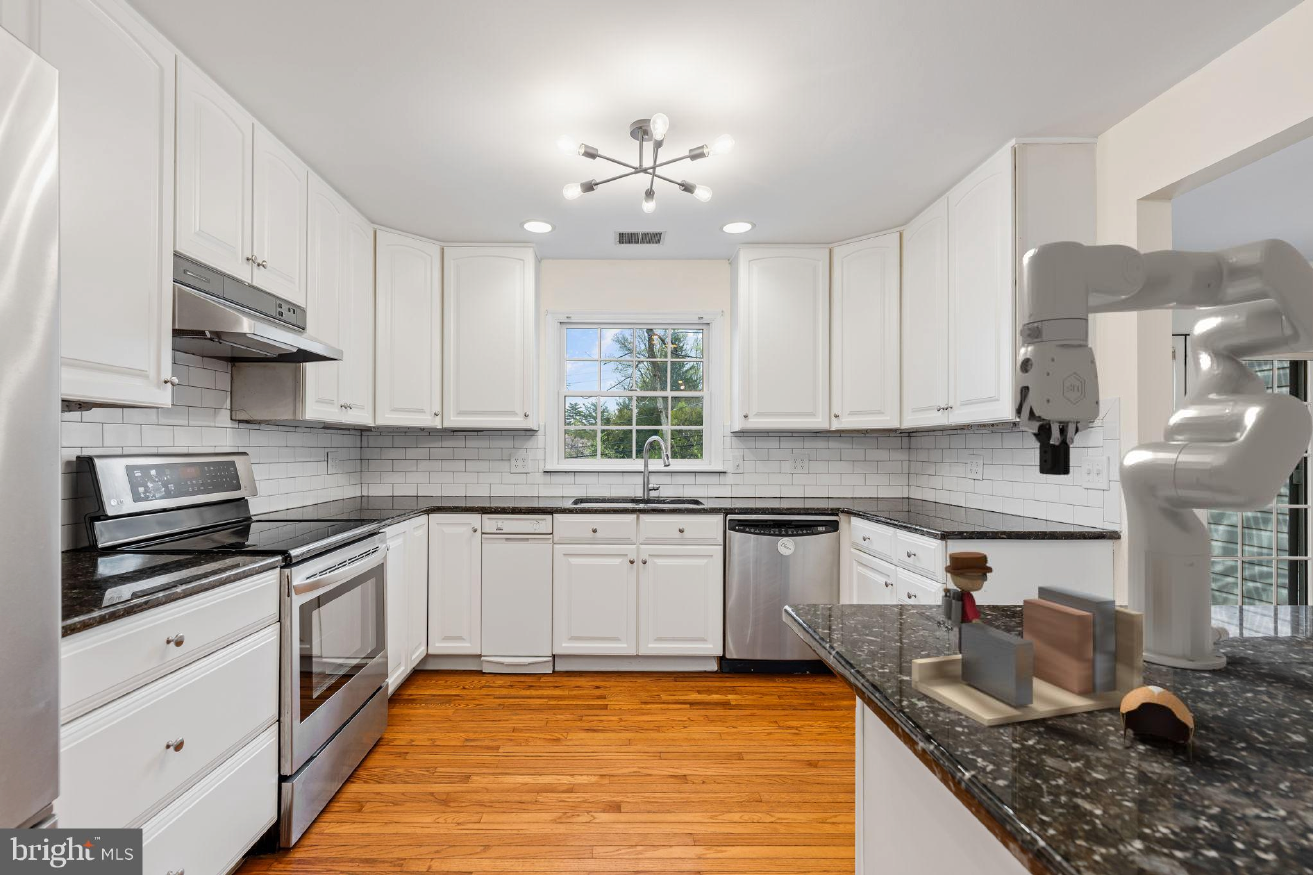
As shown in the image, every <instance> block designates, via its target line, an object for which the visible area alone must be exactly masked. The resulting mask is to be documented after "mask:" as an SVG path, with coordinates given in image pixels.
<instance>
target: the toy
mask: <svg viewBox="0 0 1313 875" xmlns="http://www.w3.org/2000/svg"><path fill="white" fill-rule="evenodd" d="M948 562H949V563H948V565H946V566H945V567H944V572H945V573H947V574H949V575H950V580H951V582H952V583H953V585H954V586H955V587H956V588H949V587H943V589H942V592H943V594H942V596H941V607H940V614H941V615H942V616H944V620H946V621H947V622H948V621H949V622H950V626H951V627H953V628H957V629H958V630H957V633H958V634H957V636H958V640H957V650H958V652H959V653H961V654H962V624H964V623H974V622H979V623H981V624H984V622H983V621H982V617H981V614H980V612H979V610H978V607H977V602H976V599H975V597H974V595H973V593H974V592H979V591H981V590H982V589H983V588H984V583H985V582H988V574H992V573H993V572H994V571H993V570H994V569H993V567H992V566H990V565H988V564H989V560H988V555H987V554H985V553H983V552H979V551H958V552H953V553H952V552H951V553H949V554H948Z"/></svg>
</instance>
